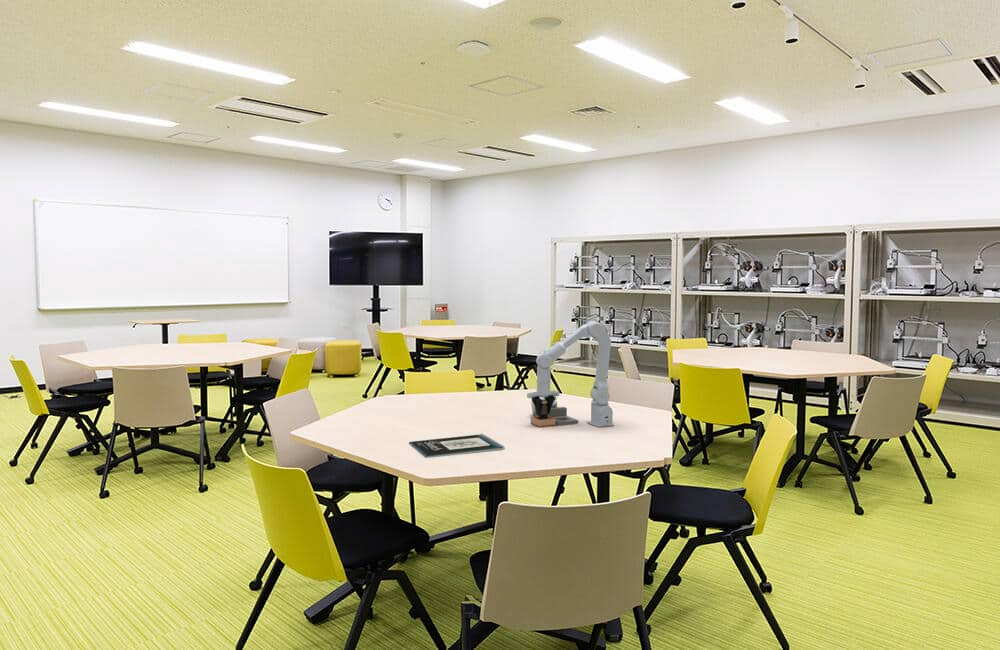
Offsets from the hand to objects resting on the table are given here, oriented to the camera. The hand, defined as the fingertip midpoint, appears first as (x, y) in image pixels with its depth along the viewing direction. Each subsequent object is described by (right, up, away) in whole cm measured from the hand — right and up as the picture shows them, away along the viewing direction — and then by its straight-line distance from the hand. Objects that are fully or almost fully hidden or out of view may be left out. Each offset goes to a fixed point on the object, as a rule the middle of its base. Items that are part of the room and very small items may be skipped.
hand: (543, 413), depth 285 cm
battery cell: (0, -2, 0) cm, 2 cm away
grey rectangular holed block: (+8, -4, +7) cm, 11 cm away
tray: (0, -5, 0) cm, 5 cm away
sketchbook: (-34, -8, -37) cm, 51 cm away
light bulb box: (+1, 0, +20) cm, 20 cm away
